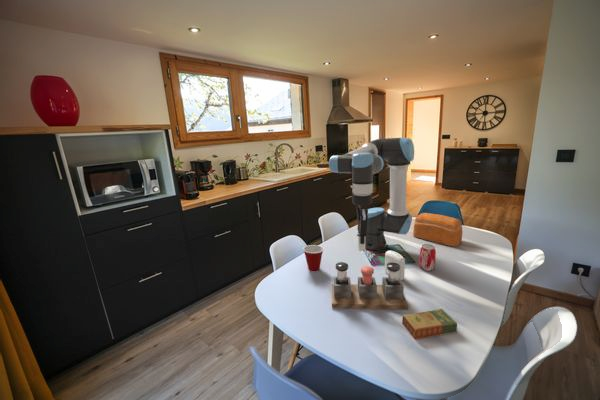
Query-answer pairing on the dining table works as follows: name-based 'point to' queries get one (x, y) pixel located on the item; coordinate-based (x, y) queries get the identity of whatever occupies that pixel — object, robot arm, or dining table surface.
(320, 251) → the plastic cup
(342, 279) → the grey plug
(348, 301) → the socket board
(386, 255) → the photo printer
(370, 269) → the red plug
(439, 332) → the carton
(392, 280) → the grey plug
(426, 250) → the soda can
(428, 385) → the dining table surface
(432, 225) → the bread
